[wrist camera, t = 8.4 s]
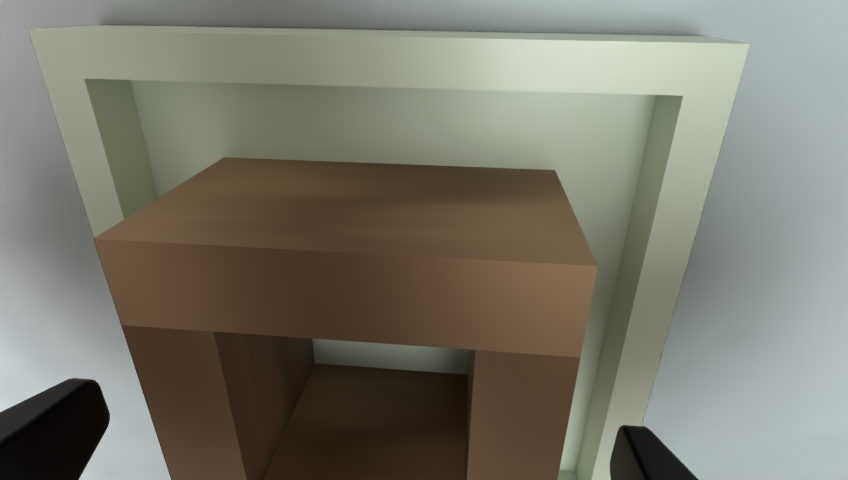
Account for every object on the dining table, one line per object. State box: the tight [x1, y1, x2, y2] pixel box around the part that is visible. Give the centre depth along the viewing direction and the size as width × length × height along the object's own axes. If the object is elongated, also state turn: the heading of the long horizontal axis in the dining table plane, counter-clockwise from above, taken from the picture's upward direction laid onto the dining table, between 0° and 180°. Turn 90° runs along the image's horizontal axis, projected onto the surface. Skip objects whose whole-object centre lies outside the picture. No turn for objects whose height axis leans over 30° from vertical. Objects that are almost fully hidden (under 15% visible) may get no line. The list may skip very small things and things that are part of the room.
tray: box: [28, 25, 750, 480], centre depth 12 cm, size 12×12×2 cm
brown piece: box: [94, 157, 598, 480], centre depth 10 cm, size 7×8×4 cm
